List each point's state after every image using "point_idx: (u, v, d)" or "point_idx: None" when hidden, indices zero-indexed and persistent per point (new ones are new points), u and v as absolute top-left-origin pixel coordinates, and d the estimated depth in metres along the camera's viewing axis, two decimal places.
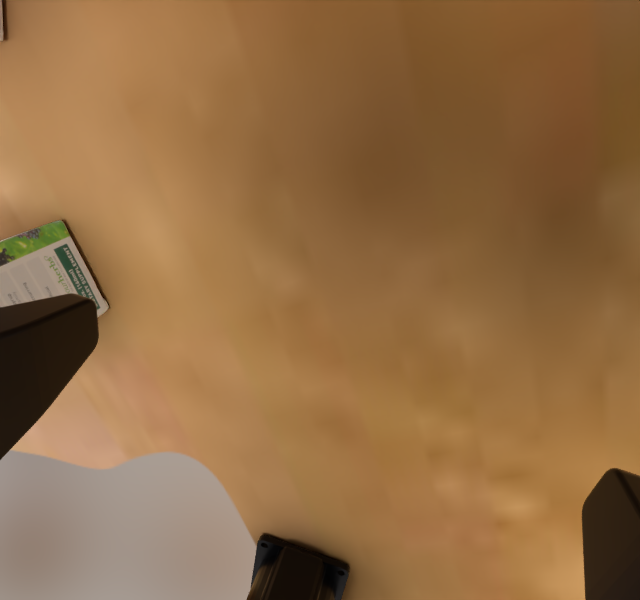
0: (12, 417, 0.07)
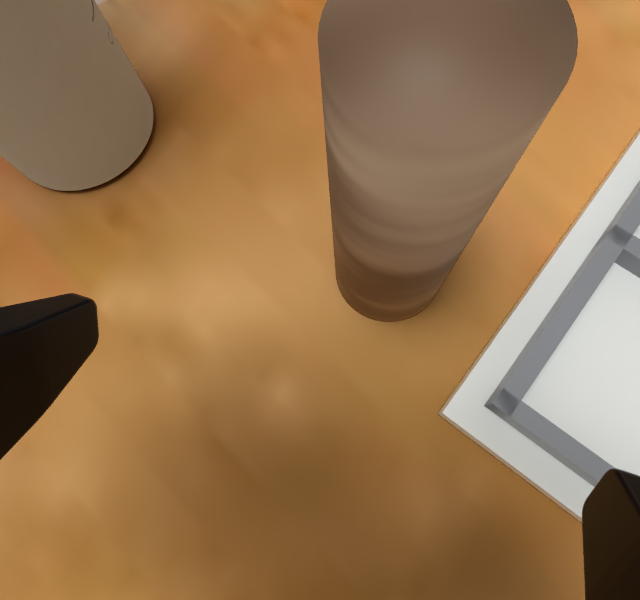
0: (12, 417, 0.07)
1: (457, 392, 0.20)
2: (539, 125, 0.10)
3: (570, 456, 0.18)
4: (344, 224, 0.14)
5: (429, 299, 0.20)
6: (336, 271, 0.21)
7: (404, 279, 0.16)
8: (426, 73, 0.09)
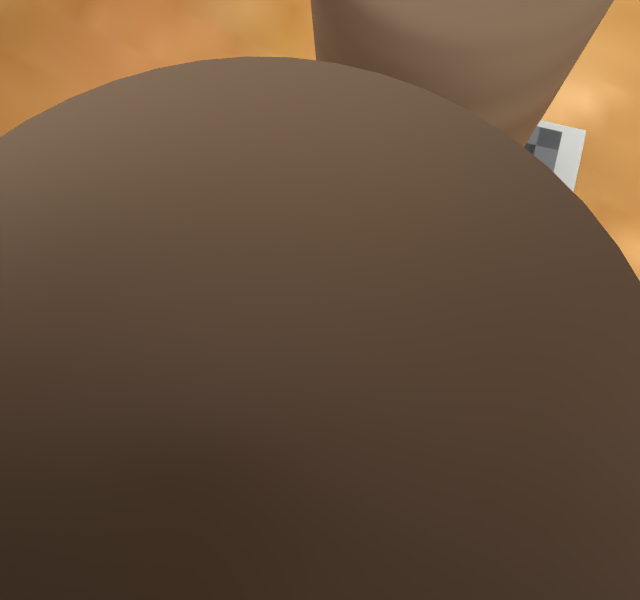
0: None
1: None
2: None
3: None
4: None
5: None
6: None
7: None
8: None
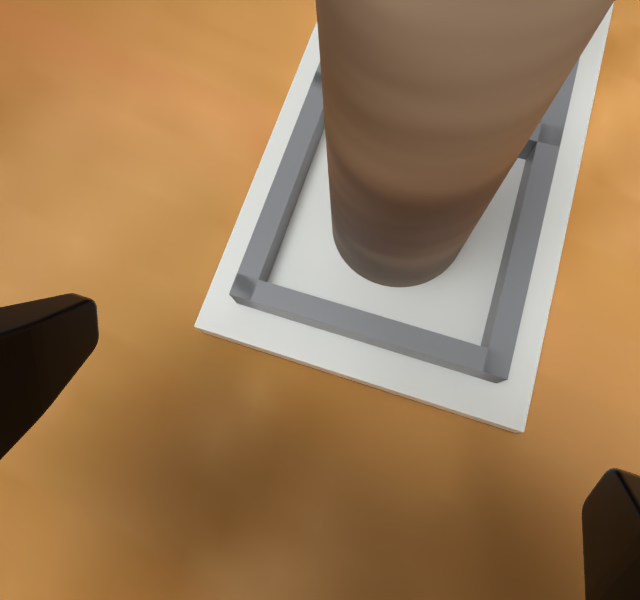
0: (12, 417, 0.07)
1: (206, 299, 0.18)
2: None
3: (321, 318, 0.16)
4: (342, 115, 0.10)
5: (453, 255, 0.16)
6: (332, 220, 0.16)
7: (428, 209, 0.11)
8: None
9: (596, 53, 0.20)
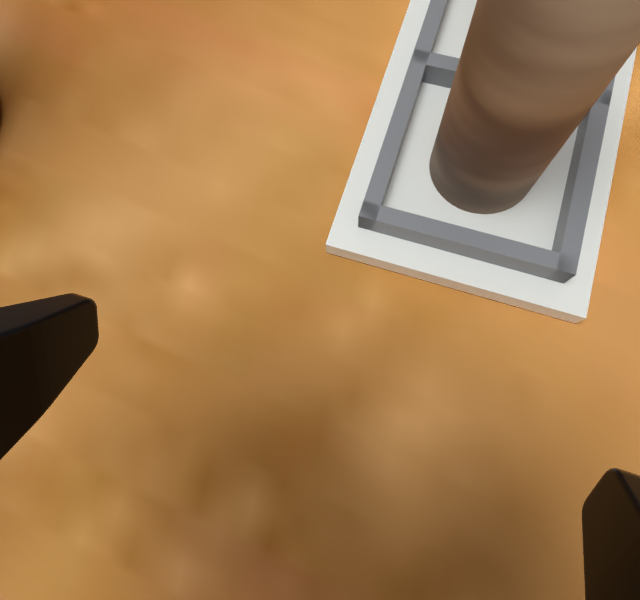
0: (12, 417, 0.07)
1: (333, 224, 0.23)
2: None
3: (431, 232, 0.21)
4: (492, 62, 0.15)
5: (532, 184, 0.21)
6: (438, 159, 0.21)
7: (536, 133, 0.16)
8: None
9: None
